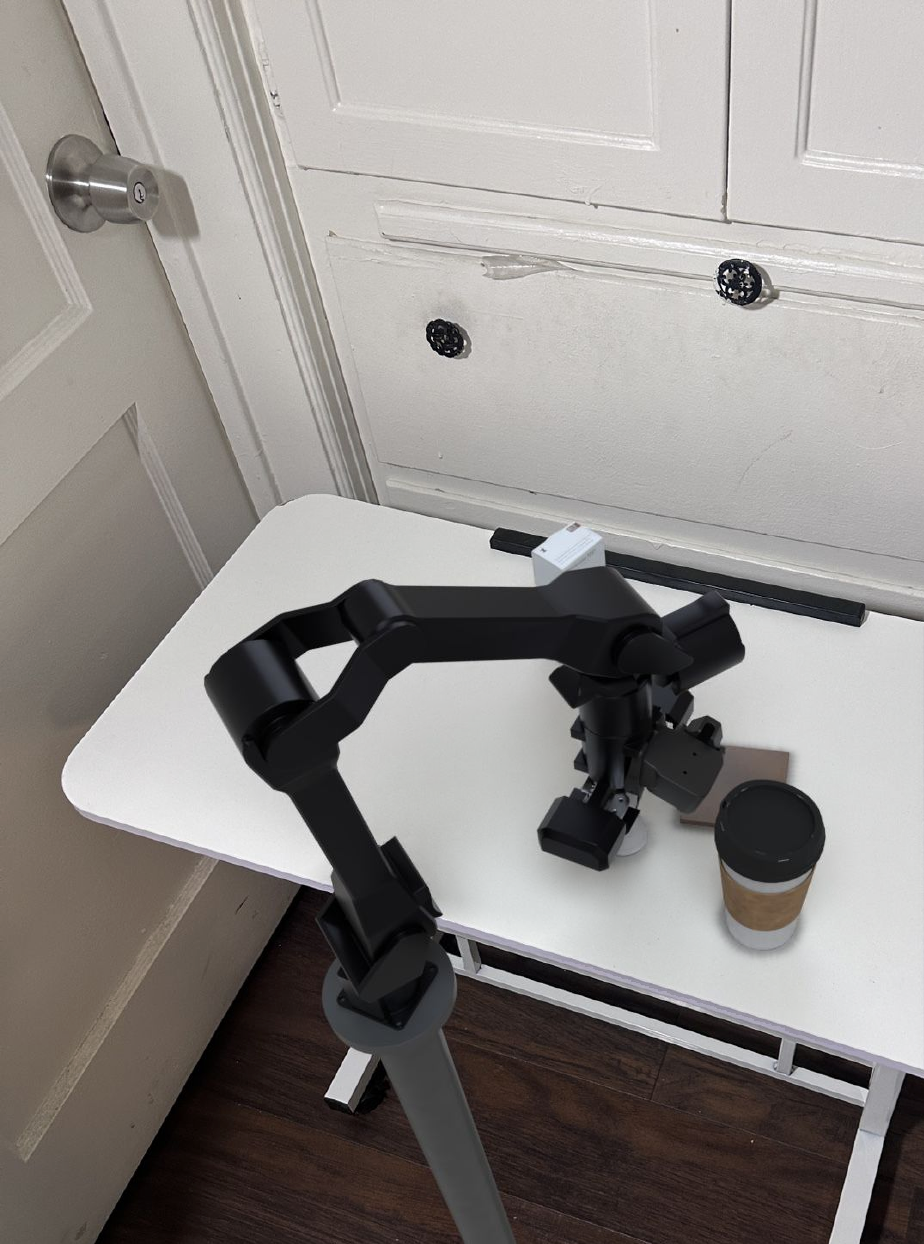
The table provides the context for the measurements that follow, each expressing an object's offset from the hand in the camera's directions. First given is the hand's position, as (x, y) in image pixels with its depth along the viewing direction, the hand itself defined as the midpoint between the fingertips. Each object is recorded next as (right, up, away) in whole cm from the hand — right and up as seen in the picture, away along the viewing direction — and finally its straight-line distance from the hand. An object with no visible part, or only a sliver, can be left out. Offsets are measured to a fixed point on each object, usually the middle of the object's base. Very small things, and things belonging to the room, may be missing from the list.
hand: (622, 825), depth 107 cm
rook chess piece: (0, -1, +2) cm, 2 cm away
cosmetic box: (-5, +18, +18) cm, 26 cm away
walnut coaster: (+10, +3, +4) cm, 12 cm away
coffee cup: (+12, -8, -4) cm, 15 cm away
